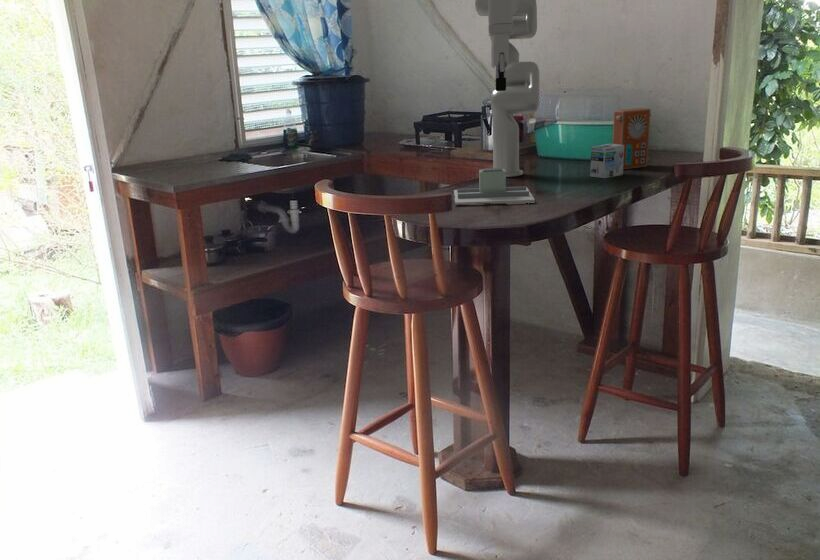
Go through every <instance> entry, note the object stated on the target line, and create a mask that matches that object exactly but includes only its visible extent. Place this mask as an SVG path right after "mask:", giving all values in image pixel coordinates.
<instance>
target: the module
mask: <svg viewBox="0 0 820 560" xmlns="http://www.w3.org/2000/svg"><path fill="white" fill-rule="evenodd" d="M478 178H479V179H478V181H479V182H478V184H479V185H478V188H479V192H480V193H486V192H506V187H507V183H506V181H507V177H506V171H505V169H502V168H493V167H492V168H491V167H489V168H488V167H487V168H485V167H484V168H482V169H479V170H478Z"/></svg>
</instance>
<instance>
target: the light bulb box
mask: <svg viewBox="0 0 820 560" xmlns="http://www.w3.org/2000/svg"><path fill="white" fill-rule="evenodd" d="M590 147H591V148H590V172H589V173H590V174H589V176H590V177H594V178H600V179H607V178H613V177H619V176H623V174H624V169H623V162H624V145H618V144H613V143H605V144H601V145H593V146H590Z"/></svg>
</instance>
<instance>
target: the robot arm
mask: <svg viewBox="0 0 820 560" xmlns="http://www.w3.org/2000/svg"><path fill="white" fill-rule="evenodd" d="M474 1H475V2H474V7H475V11H476V12H477V15H478V16H480V17H487V18H488V37H489V38H490V43H491V45H490V46H491V53H490V54H491V58H490V59H491V60H490V65H491V68H492V69H495V79H494V80H495V89H493V90H492V91H491V94H490V99H489V101H490V102H489V104H490V107H491V115H492V144H493V145H492V153H493V154H492V157H493V158H492V162H493V163H492V165H493V166H492V168H502V169H505V171H506V178H513V177H514V178H515V177H519V176H522V175H524V171H523V170H522V169H520V126H519V123H518V122H517V120H516V119H515V118H514V117H513V115H527V114H534V113H536V112H537V111H538V110H539V106H540V69H539V65H538V64H537V63H536V62H534V61H520V52H519V50H518V49H517V48H516V47H515V45H513V43H511V42H510V40H522V39H524V40H526V39H531V38H534V36H535V35H536V34H537V32H538V31H537V29H538V10H537V9H538V5H537V0H474Z"/></svg>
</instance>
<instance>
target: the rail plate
mask: <svg viewBox="0 0 820 560" xmlns="http://www.w3.org/2000/svg"><path fill="white" fill-rule="evenodd" d="M453 195H454V196H455V198H454V205H455V204H468V203H469V204H476V203H506V204H508V205H530V204H529V203H536V202H535V201H536V199H535V198H534V196H533V195H532V193H531V192H530V190H529V188H528V187H527V186H524V185H523V186H506V192H486V193H480V192H479V187H477V188H476V187H475V188H473V187H472V188H457V189H453ZM526 203H528V204H526Z"/></svg>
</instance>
